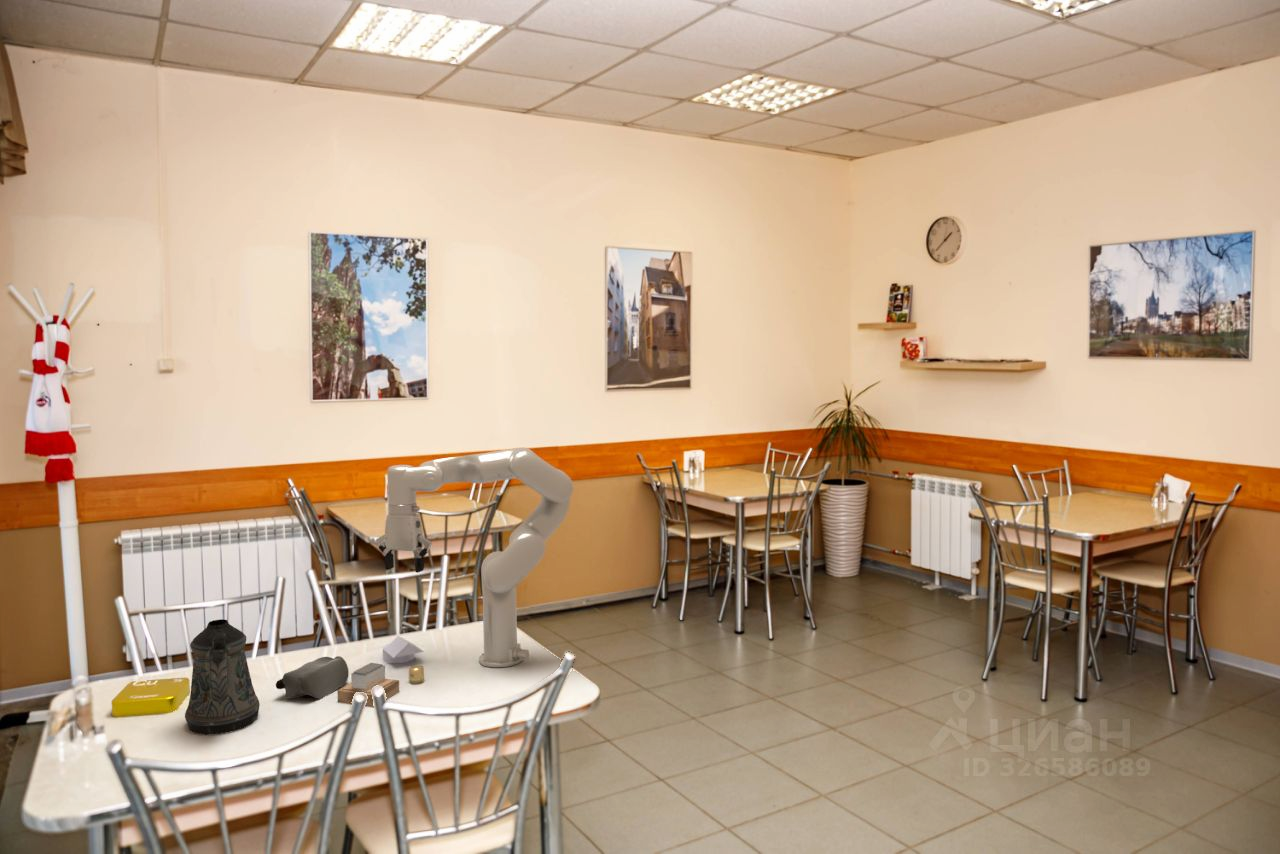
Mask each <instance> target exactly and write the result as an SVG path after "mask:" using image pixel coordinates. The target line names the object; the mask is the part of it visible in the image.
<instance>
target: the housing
mask: <svg viewBox="0 0 1280 854" xmlns="http://www.w3.org/2000/svg"><path fill="white" fill-rule="evenodd" d="M350 677H351V678H350V679H351V682H352V689H356V690H363V691H367V690H369V689H370V688H372V687H374V686H376V685H378V684H379V683H381V682H383V681H385V679H386V666H385V664H382V663H375V662H369V663H368V664H365V665H364V666H362V667H360V668H358V669H356V670H355V671H353V672H352V673H350Z"/></svg>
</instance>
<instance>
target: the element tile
mask: <svg viewBox="0 0 1280 854" xmlns="http://www.w3.org/2000/svg"><path fill="white" fill-rule="evenodd" d="M189 693H190V694H191V685H190V678H189V677H172V678H164V679H163V678H161V679H160V678H159V679H147V680H146V679H141V680H140V679H139V680H135V681H130V683H127V684H126V685H125V686H124V687H123V689H121V691H119V692H118V693H117V694H116V696H115V697H114V698H113V699H112V700H111V713H112V717H114V718H124V717H125V718H126V717H138V716H150V715H163V714H165V715H166V714H170V713H174V712H176V711H178V709H179V708H180V707H181V706H182V705H183V704H184V702H185V701H184V700H186V699H187V698H188V697H189V696H190V694H189ZM187 696H188V697H187ZM186 697H187V698H186ZM185 698H186V699H185ZM183 701H184V702H183ZM180 705H181V706H180ZM179 706H180V707H179ZM175 710H176V711H175ZM173 711H174V712H173Z"/></svg>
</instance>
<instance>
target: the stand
mask: <svg viewBox="0 0 1280 854" xmlns="http://www.w3.org/2000/svg"><path fill="white" fill-rule="evenodd" d="M378 685H379V686H382V687H383V688H384V690H385V693H386V697H387V699H386V700H388V699H389V698H391V697H392V696H394V695H396V694H398V692H400V680H399V679H391V678H385V681H383V682H381V683H379V684H378ZM372 688H373V687H372ZM372 688H370V689H369V690H367V691H363V690H356V689H352V681H351V682H350V683H348V684H345V686H344V685H343V686H342V687H340V688H338V689H337V702H338V703H344V704H351V702H352V699H353V696H354V694H355V693H356V692H364V693H366V694H367V696H368V699H367V703H366V707H372V708H373V707H374V706H373V699H372V694H371V690H372ZM374 708H375V707H374Z"/></svg>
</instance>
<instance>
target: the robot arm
mask: <svg viewBox="0 0 1280 854" xmlns="http://www.w3.org/2000/svg"><path fill="white" fill-rule="evenodd" d="M386 473H387V474H386V476H387V478H386V479H387V500H388V501H387V502H388V504H387V505H388V514H387V515H386V518H385V526H384V534H383V535H381V536H379V537H377V538H376V539H375V542H376V544H377V546H378V549H379V551H380V552H381V553H382V556H384V566H385V571H389V570H393V569H394V567H395V564H394V563H395V561H394V560H395V559H394V558H395V557H394V553H393V552H394V551H401V552H412V553H413V554H414V556H415V557H416V558H414V572H415V573H420V572H422V571H424V568H425V557H426V555H427V554H428V553H429V552H430V549H431V547H432V545H433V543H432V542H431V540H429V539H427V538H426V537H425V536H424V532H423V531H424V530H423V529H424V528H423V524H422V520H421V519H422V518H421V516H420V514H419V513H417V512H420V510H421V507H420V506H419V505H417V503H418V502H417V492H425V493H432V492H436V491H438V490H439V489H440V488H441V487H442V486H443V485H446V484H448V485H449V484H453V483H454V484H455V483H473V484H480V485H481V484H482V485H483V484H489V483H494V482H500V481H501V482H502V481H507V480H514V479H517V480H518V481H520V482H521V483H523V484H524V485H525V486H527V487H528V488H530V489H531V490H533V491H534V492H536V493H538V494H539V495H540V496H541V498H540V501H539V503H538V504H537V506H536V507H535V509H533V511H532V512H531V513H530V514H529V515H528V516H527V517H526V518H525V519H524V521H522V522H521V523H520V525H518V526H517V527H516V528H515V529H514V530H513V531H512V532H511V533H510V536H509V539H508V546H506V548H504V550H503V551H502V550H501V551H500V550H499V551H498V550H497V551H493V552H491V553H489V554H488V555H486V557H485V558H484V559H483V562H482V563H481V569H480V573H481V589H482V620H483V621H482V623H483V626H482V627H483V631H482V632H483V653H481V654H480V655H479V657H478V663H479V664H480V665H482V666H484V667H489V668H505V667H512V666H515V665H518V664H519V663H521V662H522V661H523V660H524V659H526V660H527V659H529V657H530V651H529V649H525V648H524V649H523V648H521V645H522V644H521V643H518V623H517V621H518V618H517V615H518V614H517V588H516V587H517V586H518V585H519V584H520V583H521V582H522V581H523V580H524V579H525V578H526V577H527V576H528V574H529V573H531V571H533V569H534V568H536V566H537V565H538V564H539V563H540V562H541V560H542V559H543V557H544V555H545V552H546V548H547V547H546V542H547V540H549V538H550V537H551V536H552V535H553V534H554V532H555V531H556V530H557V529H558V528H559V527H560V526H561V524H562V523H563V522H564V520H565V518H566V517H567V515H568V512H569V508H570V504H571V496H572V495H573V492H574V483H573V480H572V479H571V477H570V476H569V475H567V473H566V472H564V471H563V470H561V469H560V468H559V469H558V468H556V467H554V466H553V465H552V464H550V463H548V462H547V461H545V460H544V459H543V458H541V457H540V456H538V455H537V454H536V453H535V452H534V451H533V450H531V449H529V448H528V447H515V448H507V449H503V450H501V449H500V450H495V451H490V452H483V453H474V454H468V455H459V456H451V457H444V458H438V459H432V460H427V461H425V462H422V463H421V464H419V465H418V466H413V465H410V464H397V465H396V464H395V465H391V466H389V467H388V468H387V472H386Z"/></svg>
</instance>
